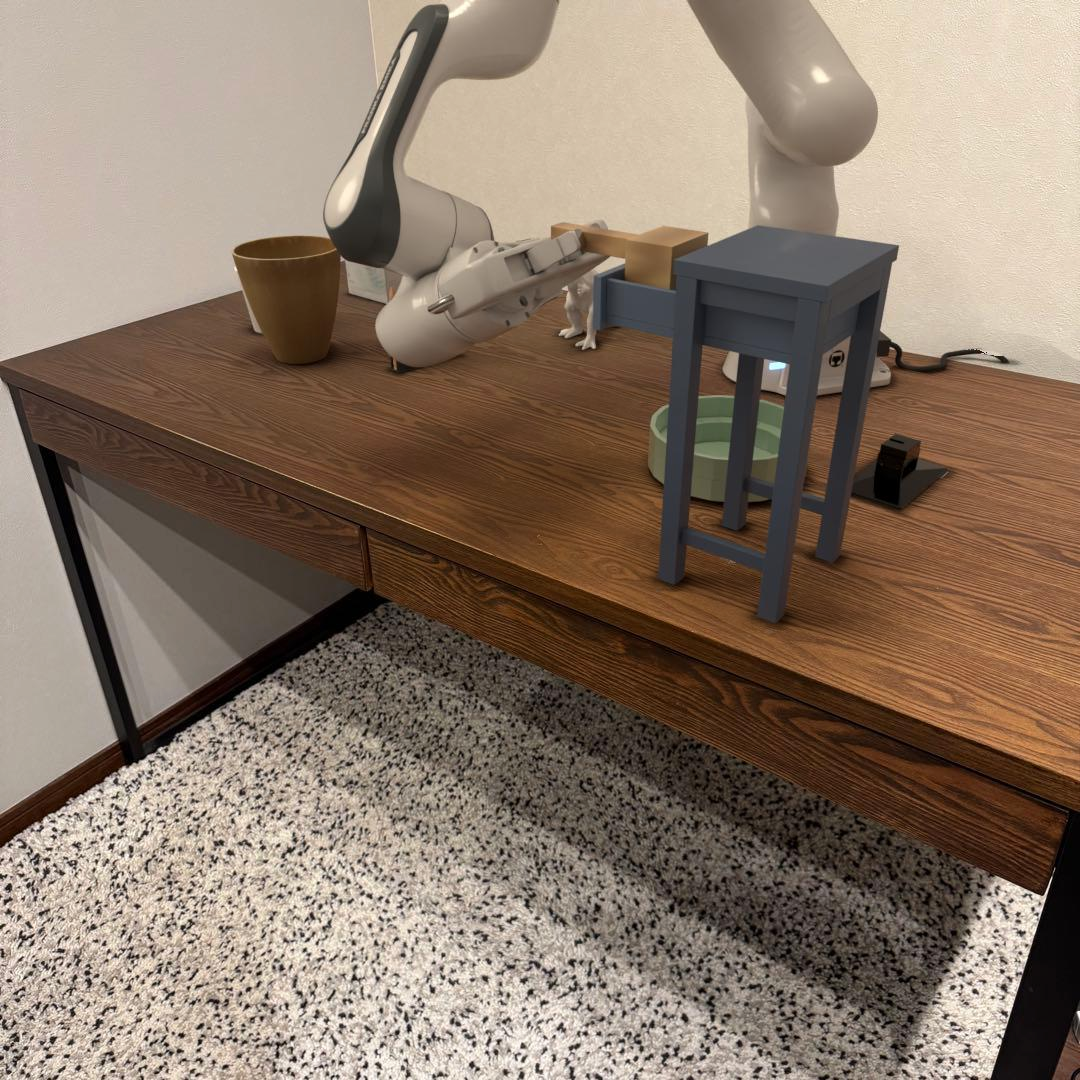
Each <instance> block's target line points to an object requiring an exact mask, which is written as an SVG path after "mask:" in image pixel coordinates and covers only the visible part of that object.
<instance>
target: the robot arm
mask: <svg viewBox="0 0 1080 1080" xmlns="http://www.w3.org/2000/svg"><path fill="white" fill-rule="evenodd" d="M685 1H686V2H687V4H688V6H689V7H690V9H691V11H692V13H693V14H694V16H695V18H696V19H697V22H698V23H699V25H700V27H701V28H702V30H703V32H704V34H705V35H706V37H707V39H708V41H709V42H710V45H711V46H712V47H713V49H714V51H715V53H716V55H717V56H718V58H719V59H720V60H721V61H722V62H723V64H724V65H725V66H726V67H727V69H728V70H729V72H730V73H731V74H732V75H733V77H734V78H735V79H736V81H737V83H738V84H739V85H740V87H741V88H742V90H743V91H744V92H745V94H746V95H745V106H744V107H745V114H746V120H747V164H748V165H747V167H748V182H749V183H748V184H749V214H748V215H749V216H748V225H747V226H748V227H747V229H749V228H752V227H754V226H757V225H760V226H767V227H774V228H781V229H788V230H795V231H802V232H809V233H816V234H823V235H831V236H837V230H838V223H839V217H840V207H839V201H838V199H837V193H836V185H835V184H836V183H835V167H837V166H840V165H843V164H846V163H848V162H850V161H852V160H853V159H855V158H856V157H857V156H859V155H860V154H861V153H862V152H863V151H864V150H865V149H866V147H867V146H868V145H869V143H870V142H871V140H872V138H873V136H874V134H875V131H876V128H877V124H878V119H879V107H878V102H877V98H876V96H875V93H874V92H873V90H872V89H871V87H870V86H869V84H868V83H867V81H865V79H864V78H863V77H862V75H861V74H860V73H859V72H858V69H856V67H855V65H854V64H853V63H852V61H851V59H850V58H849V55H848V54H847V53H846V51H845V50H844V48H843V46H842V45H841V43H840V41H839V40H838V38H837V37H836V36H835V34H834V33H833V31H832V30H831V29H830V27H829V26H828V24H827V22H825V20H824V19H823V18H822V16H821V14H820V13H819V12H818V10H817V9H816V8H815V6H814V5H813V3H812V2H811V0H685ZM560 2H561V0H439V2H437V4H427V5H425V6H423V7H422V8H421V9H419V10H418V11H417V12H416V14H414V16H413V18H412V19H411V20H410V21H409V23H408V24H407V26H406V28H405V30H404V32H403V33H402V35H401V37H400V39H399V41H398V43H397V46H396V48H395V50H394V52H393V54H392V56H391V59H390V60H389V63H388V65H387V68H386V70H385V71H384V74H383V76H382V80H381V81H380V83H379V86H378V88H377V90H376V92H375V95H374V98H373V100H372V103H371V105H370V106H369V110H368V112H367V114H366V115H365V116H366V117H365V119H364V121H363V123H362V126H361V127H360V130H359V132H358V135H357V137H356V140H355V142H354V144H353V146H352V148H351V150H350V152H349V154H348V155H347V157H346V159H345V161H344V163H343V164H342V165H341V168H340V169H339V171H338V172H337V174H336V176H335V177H334V179H333V181H332V183H331V186H330V188H329V189H328V192H327V195H326V197H325V199H324V200H325V201H324V204H323V210H322V220H323V224H324V228H325V230H326V232H327V234H328V238H330V239H331V241H332V243H333V244H334V246H335V248H336V249H337V251H338V252H339V254H340V255H341V258H343V259H344V261H345V260H347V261H349V262H353V263H358V264H362V265H366V266H370V267H374V268H382V269H385V270H388V271H391V272H394V273H397V274H399V275H402V276H403V277H402V280H401V283H400V286H399V288H398V290H397V292H396V294H395V296H394V297H393V299H392V300H391V301H389V302H388V303H387V304H386V305H384V306H383V307H382V309H381V310H380V311H379V312H378V314H377V316H376V319H375V323H374V324H375V327H374V328H375V334H376V337H377V340H378V342H379V343H380V345H381V347H382V348H383V349H384V351H385V352H386V353H387V354H388V355H389V357H390V356H391V357H393V358H394V359H395V360H397V361H398V362H400V363H403V364H405V365H408V366H411V367H420V368H427V367H431V366H436V365H438V364H441V363H444V362H447V361H449V360H452V359H454V358H457V357H456V356H458V355H459V356H461V355H462V354H464V353H466V352H468V351H469V350H471V348H473V347H474V346H475V344H479V343H485V342H488V341H491V340H493V339H495V338H497V337H500V335H503V334H505V333H507V332H509V331H511V330H513V329H515V328H518V327H519V326H521V325H523V324H524V323H526V321H528V319H529V318H530V317H531V316H533V315H534V314H535V313H536V312H537V311H538V310H539V309H540V308H542V307H543V306H545V305H546V304H548V303H550V302H552V301H553V300H556V299H557V298H558V297H560V296H562V295H563V294H564V291H563V288H565V287H568V286H567V285H569V284H570V283H572V282H573V281H575V280H577V279H578V278H580V277H581V276H583V275H584V274H586V273H587V272H589V271H590V270H592V269H595V268H597V267H598V266H600V265H601V264H603V263H604V262H606V261H607V260H608V259H609V258H610V257H611V256H606V255H601V254H595V253H590V252H584V251H580V250H581V249H583V248H585V247H586V244H587V242H586V240H585V238H584V237H583V232H582V231H581V229H575V230H572V231H569V232H566V233H565V234H563V235H561V236H559V237H557V238H555V239H553V240H551V235H547V236H544V237H542V238H540V237H539V236H538V237H536V236H535V237H532V238H531V237H530V238H527V239H522V240H516V241H507V240H506V241H505V240H503V241H497V240H495V235H494V230H493V227H492V224H491V221H490V218H489V217H488V215H487V213H486V212H485V210H484V209H483V208H481V207H480V206H478V205H475V204H474V203H472V202H470V201H468V200H465V199H463V198H461V197H459V196H457V195H454V194H452V193H450V192H447V191H445V190H441V189H438V188H436V187H434V186H432V185H430V184H427V183H425V182H423V181H420V180H418V179H416V178H413V177H411V176H409V175H408V174H407V173H406V170H405V160H406V157H407V155H408V153H409V150H410V148H411V145H412V143H413V141H414V139H415V136H416V134H417V132H418V129H419V128H420V125H421V122H422V120H423V118H424V116H425V113H426V111H427V108H428V106H429V104H430V101H431V100H432V98H433V95H434V94H435V93H436V91H437V90H438V89H439V88H440V86H442V85H443V84H444V83H446V82H449V81H450V80H472V81H498V80H504V79H505V80H506V79H509V78H513V77H516V76H518V75H520V74H523V73H524V72H526V71H527V70H529V69H530V68H532V66H534V65H535V64H536V63H537V62H538V61H539V60H540V58H541V57H542V55H543V53H544V52H545V50H546V47H547V45H548V43H549V40H550V37H551V35H552V32H553V28H554V26H555V22H556V16H557V13H558V10H559V6H560ZM582 225H583V226H589V227H595V228H602V229H608V230H609V227H608V225H607V223H606V221H605V220H603V219H596V220H593V221H590V222H586V223H584V224H582ZM850 339H851V336H850V337H848V338H847V339H845V340H844V341H842V342H841V343H839V344H838V345H836V346H835V347H834V348H832V349H831V350H829V351H828V352H826V353H825V354H823V357H822V364H821V370H820V377H819V384H818V391H817V396H823V395H829V394H830V395H831V394H836V393H842V388H843V382H844V376H845V369H846V363H847V357H848V351H849V345H850ZM891 348H892V349H893V350H894V351H895V353H896V354H895V358H894V364H896V366H897V367H898V368H899V369H901V370H907V371H912V372H915V373H916V372H918V373H926V372H927V373H928V372H936V371H941V370H943V369H944V368H946V366H947V364H948V363H947V361H948V360H947V359H948V358H949V359H950V358H955V357H960V356H961V357H962V356H968V355H982V354H981V353H984V352H982V351H980V350H977V349H978V348H967V349H968V350H966V349H960V350H953V351H947V352H945V353H943V354H942V355H941V357H940V363H938V364H932V365H924V366H913V365H909V364H906V363H904V362H903V361H902V356H903V349H902V347H901V346H900V345H899V344H898V343H896V342H894V341H892V339H891V338H890V337H889V336H887V335H886V334H885V333H884V332H883V331H881V330H880V335H879V340H878V346H877V351H876V357H875V363H874V368H873V374H872V380H871V385H870V388H877V387H882V386H883V387H884V386H888V385H890V383H891V380H892V371H891V370H890V368H889V367H888V365H887V364H886V363H885V362H884V361H883V360H882V359H880V358H884V357H885V358H886V357H889V355H890V350H891ZM970 349H971V350H970ZM974 349H976V350H974ZM986 353H987V352H986ZM983 355H986V356H988V355H987V354H985V353H984V354H983ZM459 356H458V357H459ZM989 356H990V357H994V358H995V359H997V360H999V361H1000V362H1001V363H1002V364H1008V365H1009V364H1010V361H1009V360H1008V358H1007V357H1005V355H1003V356H994V355H989ZM738 357H739V353H736V352H731V351H728V353H727V356H726V359H725V360H724V363H723V365H722V372H723V374H724V375H725V376H726V378H728V379H729V380H731V381H733V382H735V383H736V377H737V367H738ZM789 366H790V364H785V363H781V362H776V361H772V360H767V359H764V367H763V375H762V384H761V391H768V392H774V393H776V394H779V395H782V396H785V397H786V389H787V381H788V373H789Z"/></svg>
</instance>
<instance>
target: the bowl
mask: <svg viewBox="0 0 1080 1080" xmlns="http://www.w3.org/2000/svg"><path fill="white" fill-rule="evenodd" d="M734 397H735V395H726V394H725V395H723V394H716V395H715V394H714V395H699V397H698V410H697V422H696V435H695V448H694V460H693V473H692V486H691V497H694V498H698V499H702V500H706V501H711V502H722V503H724V497H725V487H726V477H727V467H728V457H729V447H730V437H731V427H732V417H733V407H734ZM668 409H669V403H668V404H666V405H665V404H664V405H662V406H661V407H660V408H659V409H658V410H657V411H656V412H654V413H653V414H652V415H651V419H650V423H649V432H648V433H649V434H648V435H649V436H648V450H647V451H648V452H647V454H648V455H647V466H648V469H649V470H650V471H649V472H651V475H652V477H654V478H655V479H656V480H657V481H658V482H660V483H661V484H663V485H664V474H665V458H666V441H667V425H668ZM783 412H784V405H781V404H777V403H774V402H771V401H768V400H765V399H760V402H759V410H758V419H757V428H756V436H755V445H754V454H753V462H752V471H751V477H754V478H757V479H761V480H764V481H767V482H771V483H774V481H775V474H776V466H777V458H778V451H779V443H780V435H781V427H782V420H783ZM811 441H812V437H811V438H810V443H811ZM810 449H811V444H810V445H809V450H810ZM809 454H810V451H809V452H808V456H810V455H809ZM808 462H809V457H808V458H807V463H808ZM807 468H808V464H807V465H806V470H807ZM806 474H807V471H806V472H805V477H806ZM768 500H769V499H768V498H765V497H761V496H758V495H755V494H752V493H749V497H748V503H753V502H764V501H768Z"/></svg>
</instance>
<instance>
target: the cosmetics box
mask: <svg viewBox="0 0 1080 1080" xmlns="http://www.w3.org/2000/svg"><path fill="white" fill-rule="evenodd" d="M344 261H345V262H344V263H345V271H346V280H347V286H348V294H350V295H352V296H357V297H361V298H363V299H368V300H372V301H375V302H379V303H381V304H387V303H388V302H389V294H390V289H391V286H393V287H394V289H395V292H397V290H398V288H399V286H400V283H401V280H402V277H403V276H402V275H399V274H397V273H394V272H391V271H388V270H385V269H382V268H374V267H370V266H366V265H362V264H358V263H353V262H349V261H347V260H345V259H344Z"/></svg>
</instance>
